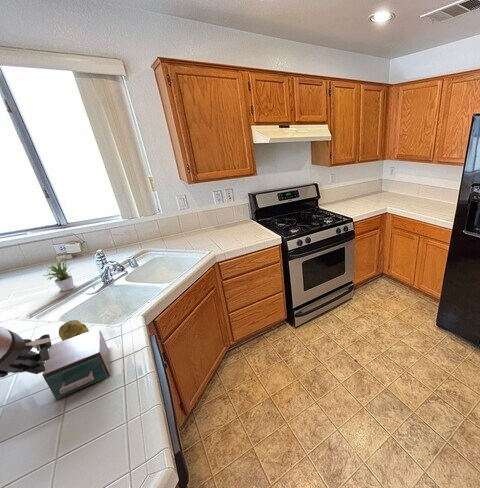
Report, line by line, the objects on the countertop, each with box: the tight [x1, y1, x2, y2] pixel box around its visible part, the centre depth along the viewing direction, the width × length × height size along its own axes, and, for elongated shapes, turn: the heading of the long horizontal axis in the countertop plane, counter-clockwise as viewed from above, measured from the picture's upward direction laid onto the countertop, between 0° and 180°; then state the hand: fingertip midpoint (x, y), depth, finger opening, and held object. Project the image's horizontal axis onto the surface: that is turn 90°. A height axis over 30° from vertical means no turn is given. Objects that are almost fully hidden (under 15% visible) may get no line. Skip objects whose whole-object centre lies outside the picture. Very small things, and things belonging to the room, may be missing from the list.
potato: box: [58, 319, 90, 341], centre depth 98 cm, size 8×13×8 cm, turn 45°
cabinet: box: [41, 327, 111, 401], centre depth 84 cm, size 16×13×10 cm
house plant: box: [37, 259, 75, 292], centre depth 139 cm, size 14×14×16 cm
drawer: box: [46, 356, 108, 400], centre depth 81 cm, size 19×11×8 cm, turn 40°
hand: (39, 367), depth 61 cm, fingers closed
